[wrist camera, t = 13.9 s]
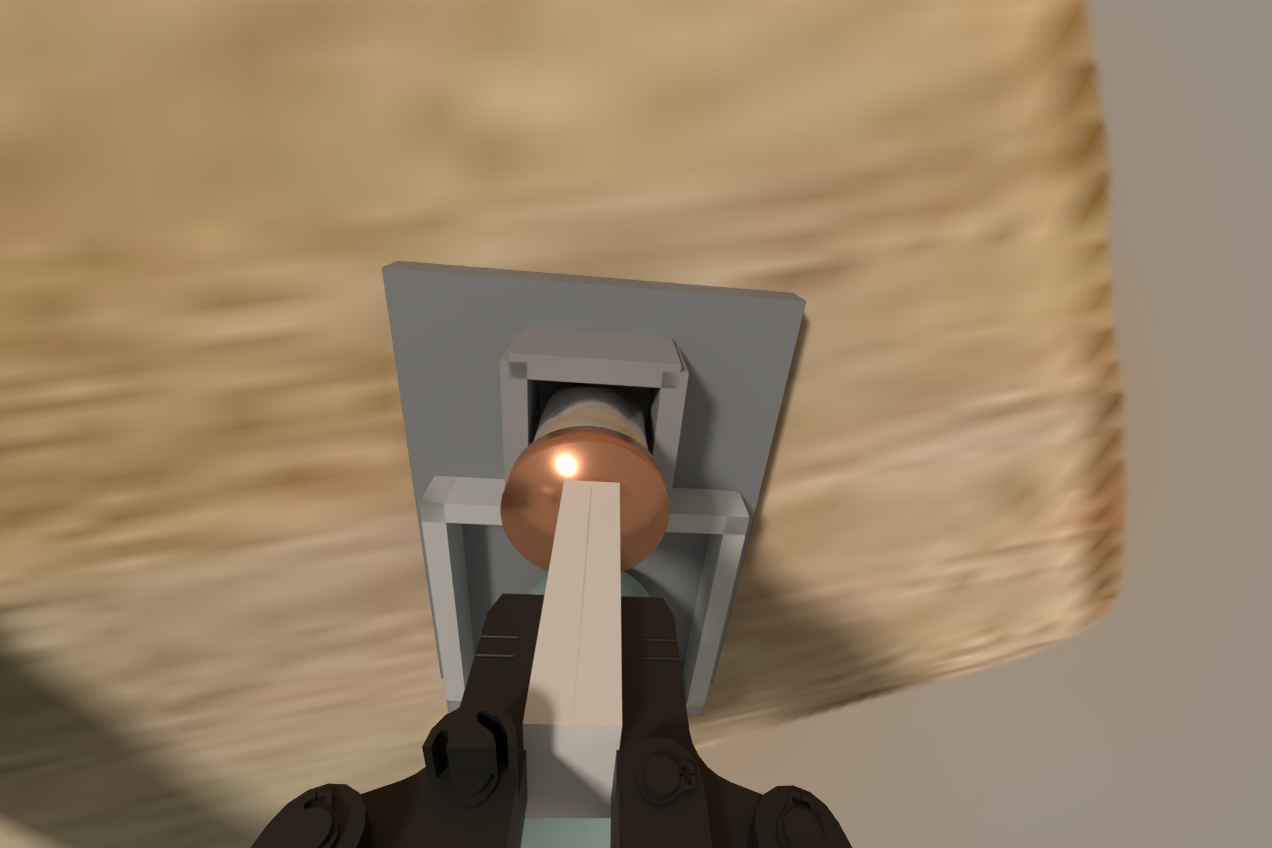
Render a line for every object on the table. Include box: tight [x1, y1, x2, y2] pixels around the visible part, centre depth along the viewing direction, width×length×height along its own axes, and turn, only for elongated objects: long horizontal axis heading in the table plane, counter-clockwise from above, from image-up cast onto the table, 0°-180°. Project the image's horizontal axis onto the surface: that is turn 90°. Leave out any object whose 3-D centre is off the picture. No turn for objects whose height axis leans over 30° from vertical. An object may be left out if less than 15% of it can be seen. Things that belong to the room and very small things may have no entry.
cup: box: [521, 571, 651, 848], centre depth 21 cm, size 8×8×10 cm
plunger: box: [500, 382, 669, 573], centre depth 17 cm, size 5×5×6 cm
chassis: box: [382, 261, 806, 716], centre depth 23 cm, size 16×23×5 cm
